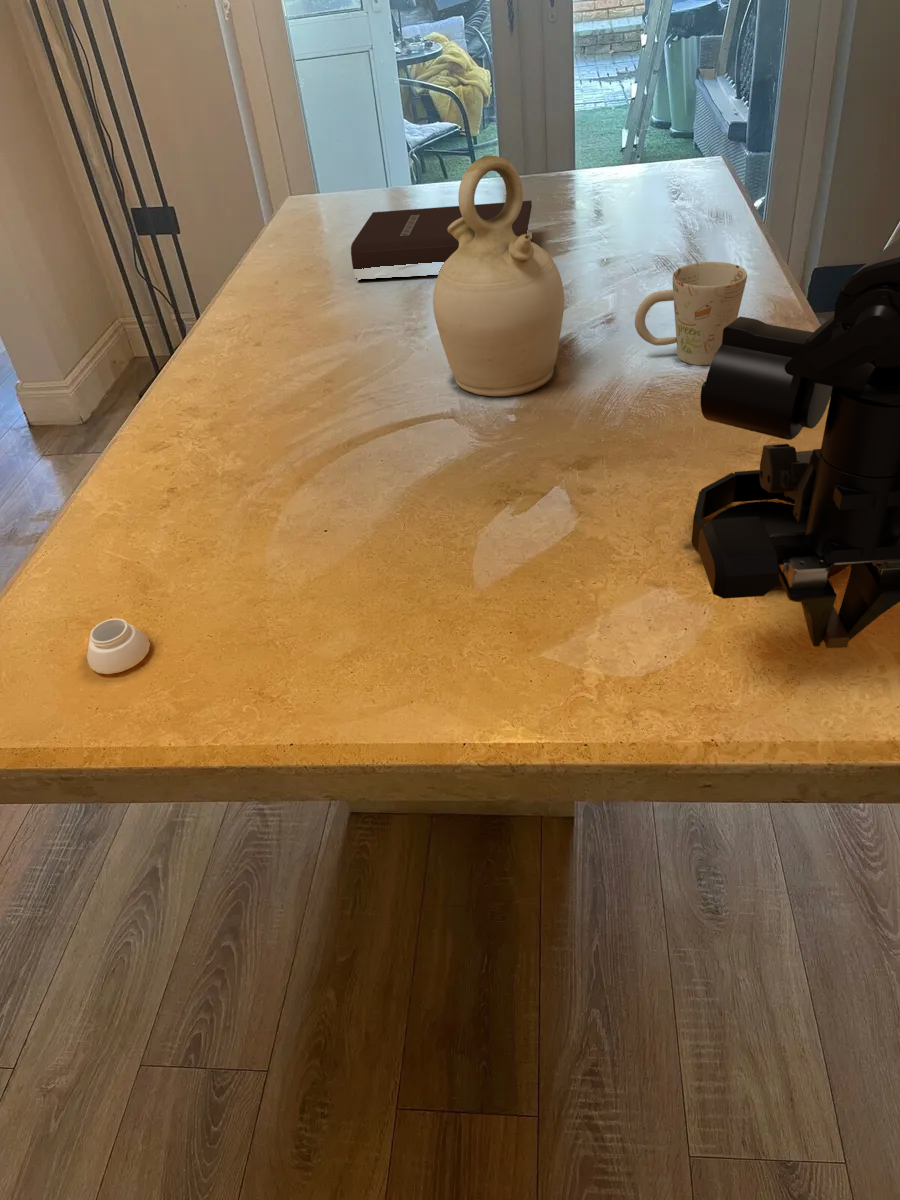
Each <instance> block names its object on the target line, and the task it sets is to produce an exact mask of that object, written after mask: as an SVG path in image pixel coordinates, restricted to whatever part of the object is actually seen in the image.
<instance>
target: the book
mask: <svg viewBox="0 0 900 1200" xmlns="http://www.w3.org/2000/svg"><path fill="white" fill-rule="evenodd" d="M532 203H533V202H532V200H523V202H522V207H521V210H520V213H519V215H518V217H517V218H516V220H515V221H514V222H513V224H512V230H513V232H514V234H515V235H516V236H519V237H520V236H521V235H523V234H527V230H528V231H529V225H530V224H529V223H530V218H531V213H532V208H533V207H532V206H533V205H532ZM504 205H505V202H504V201H503V202H494V203H493V202H491V203H479V204H475V208H476V211H477V213H478V215H479V216H480V218H482V219H483V220H490V219H493V218H494V217H496V216H497V215H498V214H499V213H500V212H501V211H502V209H503V207H504ZM461 217H462V215H461V212H460V208H459V205H453V206H452V205H451V206H440V207H427V208H413V209H398V210H384V211H372V213H371V215H370V216H369V217H368V219H367V220H366V221H365V223H364V225H363V227H361V229H360V231H359V232H358V234H357V235H356V237H355V238H354V239H353V241H352V243H351V246H350V257H351V258H350V259H351V265H352V270H353V269H362V268H363V269H364V268H371V267H380V266H394V265H406V264H418V263H432V262H445V261H446V260H447V259H448V258H449V257H450V256H451V255H452V254H453V253H454V252H455V251H456V250H457V249H458V247H459V242H458V240H457V239H455V238H454V236H453V235H451V234H450V233H449V232H448V227H449V225H450V224H451V223H453V222H454V221H455V220H457V219H459V218H461Z"/></svg>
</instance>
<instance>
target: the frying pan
mask: <svg viewBox="0 0 900 1200" xmlns="http://www.w3.org/2000/svg"><path fill="white" fill-rule="evenodd" d="M772 500H778V501H772ZM780 501H781V502H780ZM733 503H739V504H736V505H733V506H730V507H728V506H729V505H731V504H733ZM794 504H795V500H793V499H792V498H786V497H785V496H784V492H778V493H769V492H768V491H766V490H765V489H763V488H762V487H761V485H760V469H753V470H741V471H739V470H738V471H734V473H733V472H730V473H729V474H726V475H725V476H723V477H720V478H719V479H717V480H715V481H713V482H712V483H710V484H708V485H706V486H703V487H702V488H701V489H700V490H699V492H698V495H697V500H696V505H695V509H694V513H693V521H692V522H693V523H692V531H691V541H690V542H691V545H692V547H693V548H694V549H695V551H696V552H697V553H699V551H698V544H699V533H700V530H701V529H702V528H703V527H704V526H705V525H706V523H708V521H706V520H705V519H706V518H708V517H710V516H712V515H713V514H715V513H717V512H718V511H720V512H719V513H718V514H716V515H715V516H714V517H713V518H712V519H711V520H717V519H730V518H744V517H758V516H760V518H761V520H762V522H763V524H764V526H765V529H766V531H767V533H768V535H769V537H770V536H771V535H772V534H783V533H797V532H805V530H806V525H807V524H806V522H798V521H797V519H796V517H795V515H794V514H793V509H794ZM726 507H728V508H726ZM724 508H726V509H724ZM722 509H723V510H722ZM721 510H722V511H721ZM849 566H851V564H841V565H833V566H832V567H831V569H830V571H829V576H828V579H829V580H830V579H831V578H832V577H834V576H836V575H837V574H839V573H840V572H842V571H843V570H845V569H846V568H848V567H849ZM775 588H784V587H783V585H782V583H781V581H780V579H779V577H778V583H777V586H776V587H775ZM838 613H839V612H838V611H837V609H836V607H835V606H834V607H833V610H832V614H831V617H830V621H829V624H828V628H827V631H826V635H825V637H824V639H823V641H822V642H823V643H824V645H825V648H826V649H842V648H843V649H844V648H848V645H849V642H850V641H849V635H848V633H847V631H846V629H845V627H844V625H843V623H842V621H841V619H840V617H839V615H838ZM848 641H849V642H848Z"/></svg>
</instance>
